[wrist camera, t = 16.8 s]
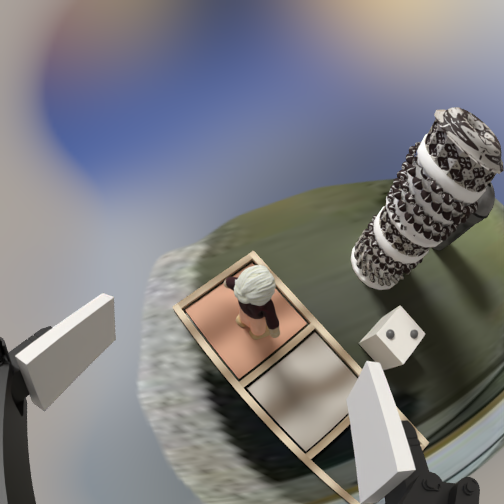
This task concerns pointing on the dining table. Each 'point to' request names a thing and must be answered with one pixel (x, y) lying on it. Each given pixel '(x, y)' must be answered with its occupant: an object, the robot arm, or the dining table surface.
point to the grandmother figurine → (255, 301)
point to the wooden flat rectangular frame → (279, 366)
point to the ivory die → (392, 339)
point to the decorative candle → (428, 197)
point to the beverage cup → (472, 216)
